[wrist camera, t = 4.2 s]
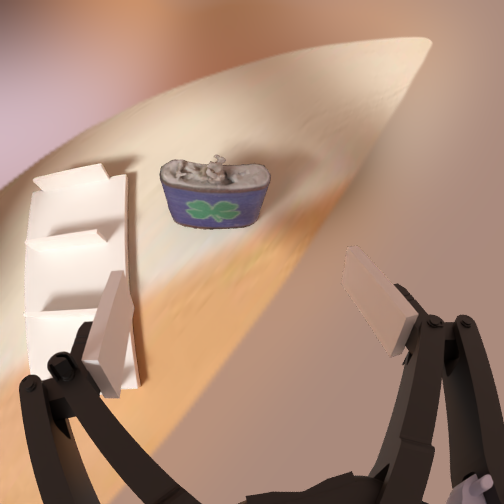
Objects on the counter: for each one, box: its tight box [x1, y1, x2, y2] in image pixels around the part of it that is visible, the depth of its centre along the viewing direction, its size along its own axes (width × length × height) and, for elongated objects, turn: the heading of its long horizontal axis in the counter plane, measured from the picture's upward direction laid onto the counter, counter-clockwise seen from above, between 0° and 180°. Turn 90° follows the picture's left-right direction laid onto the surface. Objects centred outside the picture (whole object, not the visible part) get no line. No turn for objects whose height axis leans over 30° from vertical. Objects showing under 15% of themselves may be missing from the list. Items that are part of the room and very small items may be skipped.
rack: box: [23, 163, 141, 394], centre depth 26 cm, size 13×23×4 cm, turn 8°
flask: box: [160, 155, 271, 230], centre depth 27 cm, size 9×3×11 cm, turn 89°
